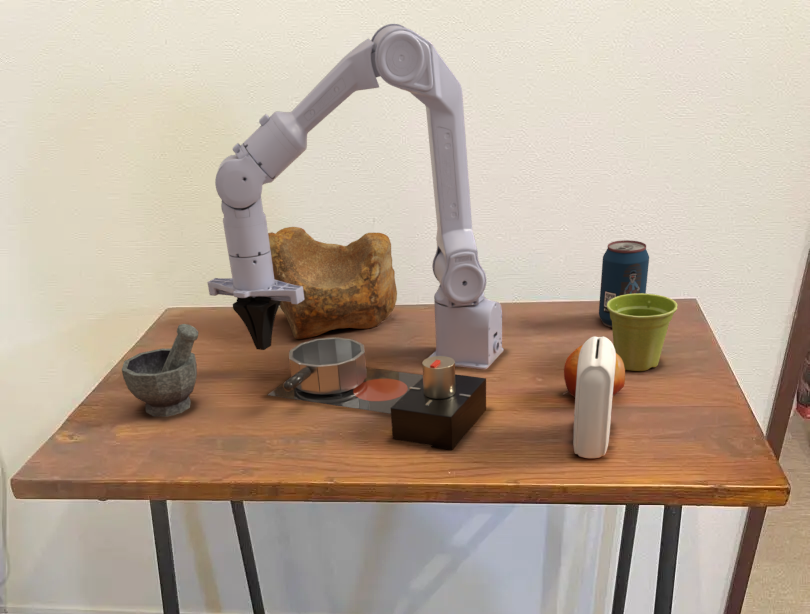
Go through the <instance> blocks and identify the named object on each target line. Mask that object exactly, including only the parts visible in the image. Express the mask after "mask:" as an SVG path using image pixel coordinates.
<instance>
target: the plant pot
mask: <svg viewBox="0 0 810 614" xmlns="http://www.w3.org/2000/svg"><path fill="white" fill-rule="evenodd" d="M607 309H608V310H609V311H610V318H611V320H612V327H611V328H612V329H611V330H612V344H613V346H614V348H615V352H616V353H617V354H618V355H619V356H620V357H621V359H622V361H623V363H624V368H625V371H629V372H644V371H648V370H650V369H651V368H657V366H659V363H660V359H661V355H662V351H663V347H664V343H665V339H666V336H667V333H668V330H669V325H670V322H671V321H672V319H673V316H674V314H675V313H676V312H677V310H678V303H677V301H675V300H674V299H672V298H670V297H667V296H666V295H660V294H656V293H655V294H654V293H646V294H644V293H641V294H640V293H639V294H626V295H621V296H617V297H615V298H613V299H611V300H609V301H608V303H607Z"/></svg>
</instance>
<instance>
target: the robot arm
mask: <svg viewBox="0 0 810 614" xmlns="http://www.w3.org/2000/svg"><path fill="white" fill-rule="evenodd" d="M379 77H380V78H381V79H382V80H383V82H385V83H387V84H388V85H390V86H392V87H394V88H397V89H400V90H402V91H406V92H408V93H410V94H411V95H412V96H413V97H415V98H416V99H417V100H418V101H420V103H422V104H423V105H424V106H425V113H426V123H427V135H428V143H429V144H428V145H429V155H430V165H431V176H432V186H433V197H434V209H435V216H436V217H435V218H436V235H435V236H436V237H435V240H436V251H435V254H434V256H433V259H432V263H431V264H432V266H431V267H432V273H433V275H434V277H435V279H436V280H437V281H438V283H439V285H438V288H437V289H436V292H435V293H434V295H433V298H434V299H433V301H434V302H433V303H434V324H435V326H434V328H435V330H434V331H435V332H434V333H435V351H433V353H432V354H430V355H429V356H428V357H427V358H430V357H434V356H446V357H450V358H452V359H454V361H455V367H460V368H468V369H476V370H487V369H488V368H489V367H490V366H491V365H492V364H493V363H494V362H495V361H496V360H497V358H499V356H500V355H502V353H503V352H504V347H503V309H502V304H501V303H500V302H499V301H495V300H493V299H492V300H491V299H489V298H486V296H485V290H486V286H487V282H488V281H487V274H486V271H485V269H484V267H483V266H482V264H481V263H480V260H479V251H478V246H477V242H476V239H475V235H474V231H473V219H472V218H473V217H472V204H471V192H470V178H469V177H470V176H469V165H468V151H467V138H466V136H467V135H466V124H465V123H466V122H465V111H464V97H463V88H462V85H461V82H460V80H459V79H458V78H457V77H456V75H455V74H454V72H453V71H452V70H451V69H450V67H449V66H448V64H447V63H446V62H445V60H444V59H443V58H442V56H441V55H440V54H439V52H438V51H437V49H436V47H435V46H434V44H433V43H432V42H431V41H430V40H428V39H427V38H425V37H423V36H422V35H420V33H417V32H416V31H414V30H413V29H411V28H407V27H406V26H404V25H402V24H399V23H388V24H385V25H382V26H381V27H380V28H378V29H377V30H376V31H375V33H374V34H373V36H372V37H371V39H370V38H366V39H365V40H363V41H362V42H360V43H359V44H358V45H357V46H355V47H354V48H353V49H352V50H350V51H349V52H348V53H347V54H346V55H344V57H342V58H341V59H340V60H339V61H338V62H337V64H336V65H335V66H333V68H331V70H330V71H329V72H328V73H327V74H326V75H325V76H324V77H323V78H322V79H321V80H320V81H319V82H318V83H317V84H316V85H315V86H314V87H313V88H312V89H311V91H309V92H308V94H307V95H306V96H305V97H304V98H303V99H302V100H301V101H300V102H299V103H298V104H297V105H296V106H295V107H294V108H293V109H292V110H291V111H280V110H277V111H276V110H275V111H274V112H273V113H272V114H271V115H270V116H269V115H268V114H267V113H265V114H264V115H262V116H261V117H260V118H259V121H258V123H259V124H260V126H259V127H257V129H256V130H255V131H253V133H252V134H251V135H249V137H247V139H245V140H244V141H243V142H242V143H241V144H240V143H239V142H237V143H236V144H235V145H234V146H233V147H232V152H233V153H234V154H230V155H228V156H226V157H225V158H223V160H222V161H221V162H220V164H219V165H218V169H217V172H216V176H215V181H214V183H215V190H216V193H217V196H218V197H219V198H220V200H221V203H220V207H221V213H222V214H223V218H222V225H223V230H224V236H225V243H226V248H227V255H228V260H229V265H230V273H231V277H229V278H228V277H227V278H222V277H214V278H213V279H211V280H209V281H207V282H206V283H207V289H208V294H209V296H213V297H215V296H218V295H219V296H230V297H234V298H236V301H235V302H233V303H232V309H233V311H234V312H235V313H236V314H237V315H238V316H239V318H240V319H241V321H242V322H243V324H244V325H245V327H246V329H247V331H248V333H249V335H250V337H251V340H252V342H253V344H254V347H255V349H256V350H258V351H266V350H267V349H268V348H270V347H271V346H272V338H273V331H274V330H273V329H274V324H275V320H276V316H277V313H278V310H279V308H280V306H279V305H280V303H281V301H287V302H291V303H292V304H299V303H300V302H302V301H303V300H304V292H303V286H297V285H292V284H289V283H285V282H282V281H278V280H275V279H274V272H273V264H272V257H271V250H270V243H269V236H268V233H269V228H268V221H267V215H266V214H265V211H264V207H263V200H262V193H263V186H264V185H266V184H271V183H273V182H274V180H276V179H277V178H278V177H279V176H280V175H281V174H282V173H283V172H284V171H285V170H286V169H287V168H289V166H290V165H292V163H293V162H295V161H297V159H298V158H299V157H300V156H301V155H302V154H303V153H304V152H306V151H307V148H308V134H309V133H310V132H311V131H312V130H313V129H314V128H315V127H316V126H318V125H319V124H320V123H321V122H322V121H323V120H325V118H326V117H328V116H329V115H330V114H331V113H332V112H333V111H334V110H336V108H338V107H339V106H340V105H341V104H342V103H343V102H345V101H346V100H347V99H348V98H349V97H350V96H352V95H353V94H354V93H355V92H359V91H365V90H372V89H373V90H374V89H379V88H380V84H379V81H378V79H377V78H379Z"/></svg>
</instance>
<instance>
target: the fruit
mask: <svg viewBox="0 0 810 614" xmlns="http://www.w3.org/2000/svg"><path fill="white" fill-rule="evenodd" d="M582 346H583V344H582V345H579V346H578V347H577V348H575V349H574V350H573V351H572V352H571V353H570V354H569V355H568V356H567V358H566V360H565V362H564V366H563V379H564V382H565V388H566V391H564V392H563V393H562V396H565V395H566V394H569V395H571V396H572V397H574V398H575V396H576V381H577V366H578V358H579V354H580V350H581V348H582ZM625 383H626V370H625V368H624V363H623V361H622V359H621V357H620V356H619V355H618V354H617V353H616V364H615V375H614V386H613V397H614V396H615V395H617V393H619V391H621V390H622V389H623V388H624V386H625Z"/></svg>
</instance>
